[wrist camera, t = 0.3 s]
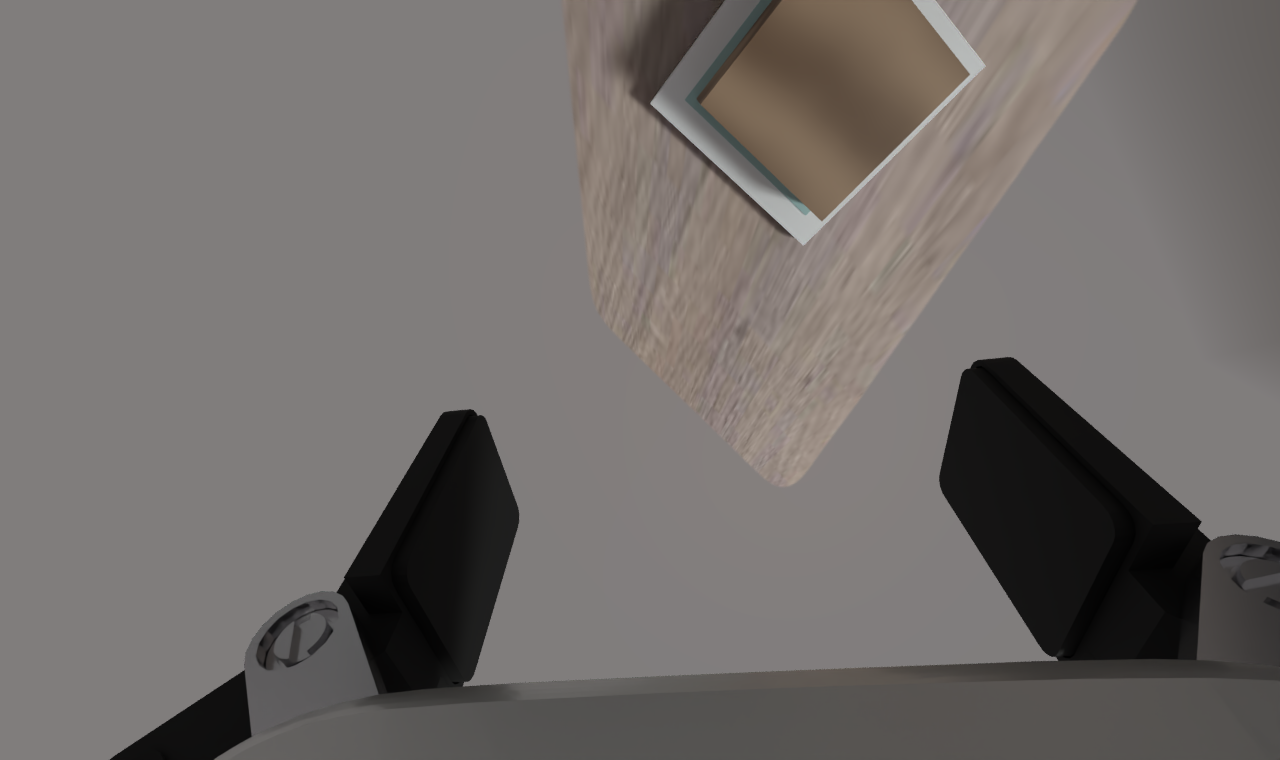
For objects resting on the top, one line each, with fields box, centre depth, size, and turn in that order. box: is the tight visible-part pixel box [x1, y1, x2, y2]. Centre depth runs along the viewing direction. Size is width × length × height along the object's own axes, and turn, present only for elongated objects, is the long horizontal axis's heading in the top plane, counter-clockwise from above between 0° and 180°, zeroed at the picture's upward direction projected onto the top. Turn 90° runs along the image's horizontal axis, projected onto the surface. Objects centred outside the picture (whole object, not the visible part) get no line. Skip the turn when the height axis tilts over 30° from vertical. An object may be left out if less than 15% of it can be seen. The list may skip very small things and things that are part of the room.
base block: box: [696, 0, 970, 221], centre depth 30 cm, size 10×10×4 cm
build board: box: [650, 0, 985, 246], centre depth 32 cm, size 14×14×2 cm
